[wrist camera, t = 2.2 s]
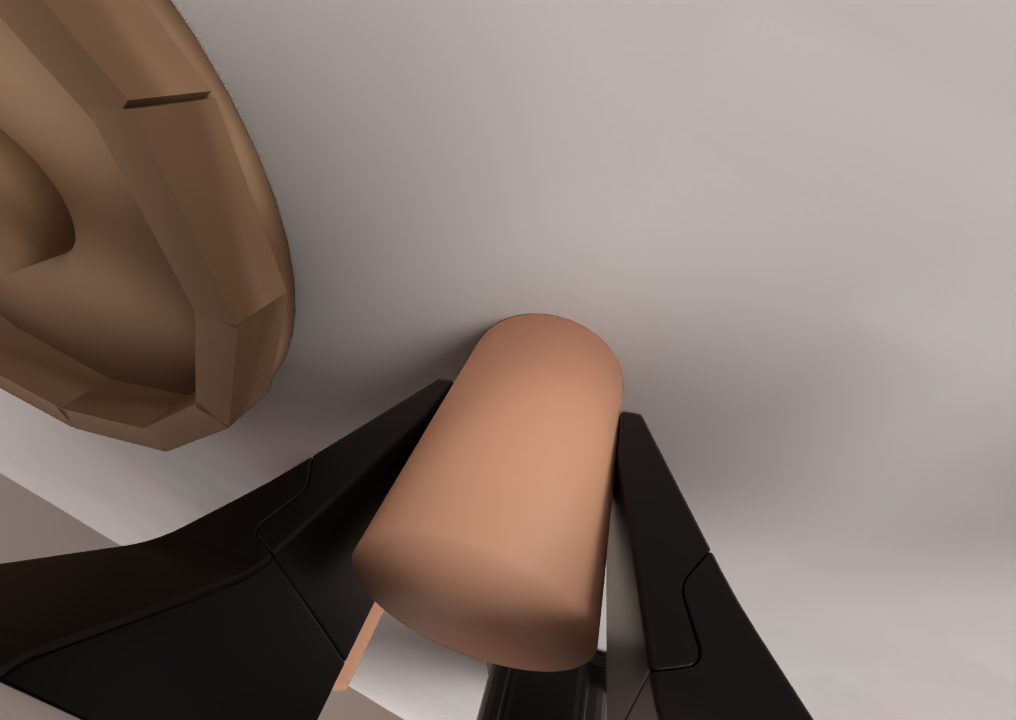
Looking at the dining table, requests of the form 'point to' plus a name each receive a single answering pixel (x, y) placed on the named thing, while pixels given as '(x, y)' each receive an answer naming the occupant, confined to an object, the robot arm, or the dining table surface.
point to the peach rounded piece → (507, 502)
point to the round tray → (132, 227)
